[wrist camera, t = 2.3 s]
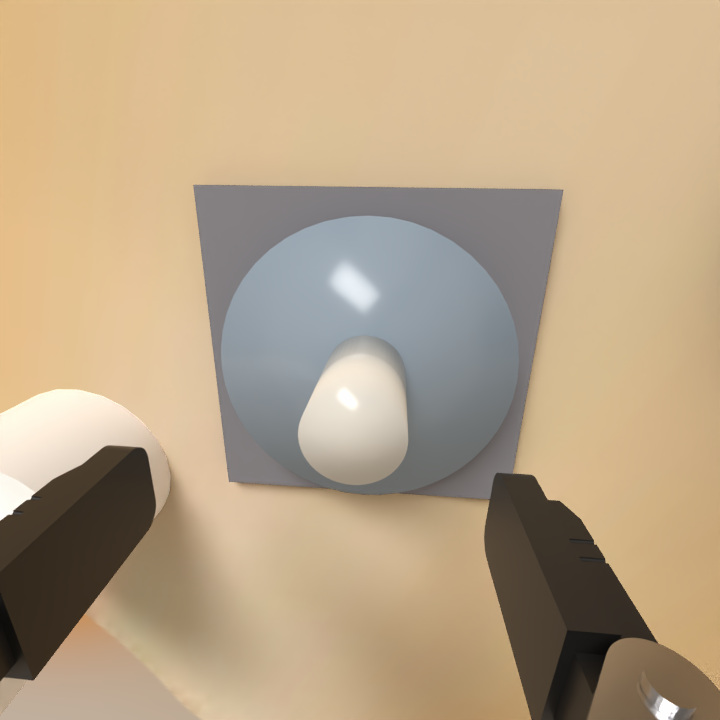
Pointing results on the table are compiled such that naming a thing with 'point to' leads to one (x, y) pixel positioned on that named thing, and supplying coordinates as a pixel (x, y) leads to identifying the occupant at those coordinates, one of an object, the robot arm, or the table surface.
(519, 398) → the mat
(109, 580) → the robot arm
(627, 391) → the table surface
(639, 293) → the table surface
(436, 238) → the lid
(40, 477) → the white cylinder
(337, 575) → the table surface
